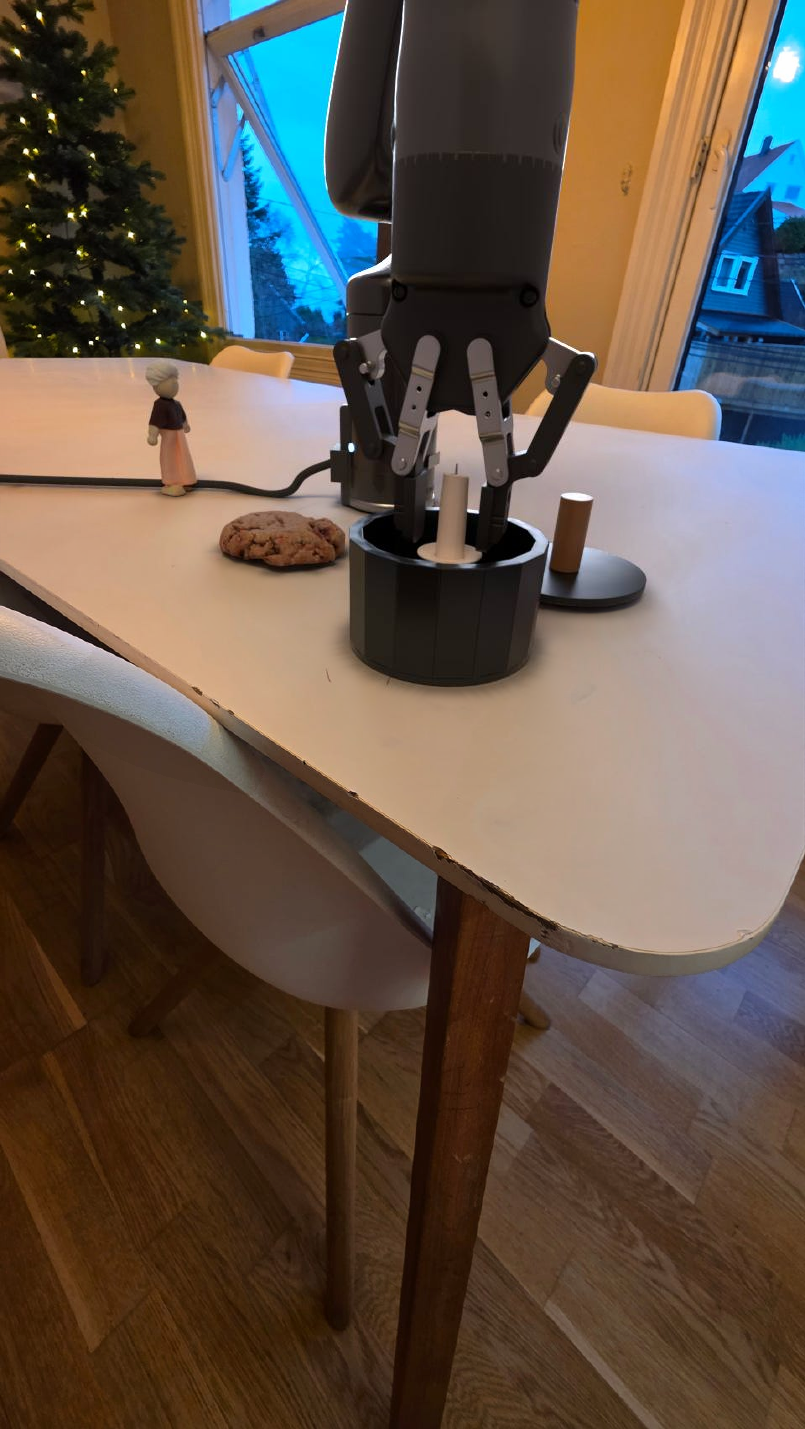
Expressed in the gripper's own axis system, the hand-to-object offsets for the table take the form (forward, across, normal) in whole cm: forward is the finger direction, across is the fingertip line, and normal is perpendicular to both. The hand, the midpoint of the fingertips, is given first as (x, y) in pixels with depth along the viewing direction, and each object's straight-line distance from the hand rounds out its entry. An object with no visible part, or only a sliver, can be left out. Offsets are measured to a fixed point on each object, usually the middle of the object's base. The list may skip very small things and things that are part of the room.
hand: (447, 542), depth 37 cm
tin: (+7, 0, 0) cm, 7 cm away
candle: (+6, 0, 0) cm, 6 cm away
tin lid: (+6, -6, -14) cm, 16 cm away
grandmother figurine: (+7, +37, -25) cm, 45 cm away
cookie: (+7, +17, -11) cm, 21 cm away
